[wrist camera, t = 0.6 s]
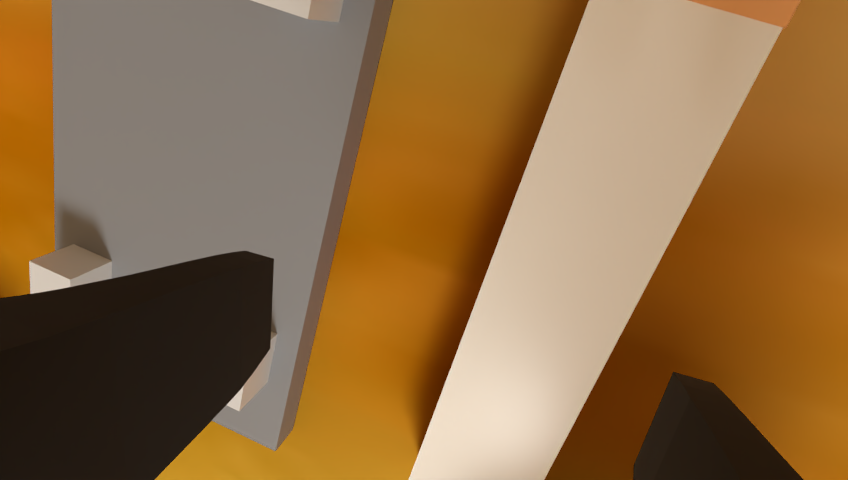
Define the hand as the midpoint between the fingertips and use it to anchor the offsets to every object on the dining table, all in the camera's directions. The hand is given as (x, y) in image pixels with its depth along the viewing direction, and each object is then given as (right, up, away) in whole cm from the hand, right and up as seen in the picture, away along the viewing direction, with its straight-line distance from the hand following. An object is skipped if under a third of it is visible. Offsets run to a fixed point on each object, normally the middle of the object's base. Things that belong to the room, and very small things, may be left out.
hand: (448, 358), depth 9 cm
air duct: (+4, +1, +9) cm, 10 cm away
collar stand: (-9, +6, +11) cm, 16 cm away
